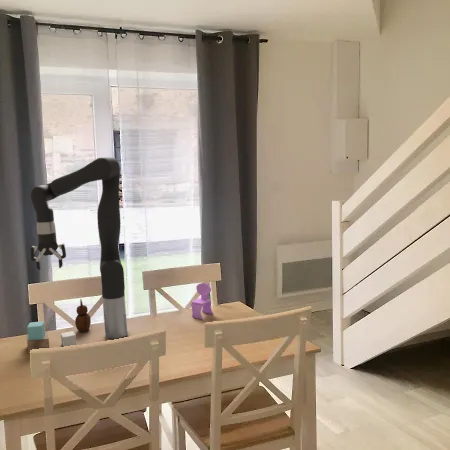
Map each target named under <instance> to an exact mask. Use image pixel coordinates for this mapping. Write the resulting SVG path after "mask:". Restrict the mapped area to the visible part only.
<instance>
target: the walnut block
mask: <svg viewBox="0 0 450 450" xmlns="http://www.w3.org/2000/svg"><path fill="white" fill-rule="evenodd" d="M26 343H27V352H28V353H27V354H30V353H29V352H30V350H32V349H39V348H50V337H49V335H48V331H45V336H44V338H43V339H39V340H28V334H27V335H26Z"/></svg>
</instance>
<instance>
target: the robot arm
mask: <svg viewBox="0 0 450 450" xmlns="http://www.w3.org/2000/svg"><path fill="white" fill-rule="evenodd" d="M120 174H121V168H120V164H119V161H118V160H117V159H116V158H115V157H114V156H101V157H97V158H96V159H94V160H93V161H90V162H89V163H88V164H86V165H85V166H83V167H81V168H80V169H78V170H75V171H73V172H70V173H68V174H65V175H63V176H59V177H57V178H56V179H52V180H51V182H49V183H45V184H42V185H35V186H34V187H33V188H32V189H31V191H30V200H31V204H32V206H33V209H34V211H35V213H36V214H35V217H36V233H37V244H38V245H36V246H35V245H32V246H30V261H35V265H36V269H37V270H38V271H41V270H42V269H41V267H42V266H41V258H42V257H43V256H44V257H45V256H53V255H54V256H55V257H57V259H58V267H59V268H58V269H61V268H62V267H63V265H64V264H63V259H66V257H67V251H66V244H65V243H61V244H58V242H57V241H58V240H57V231H56V230H57V228H56V224H55V216H54V215H55V214H54V209H53V208H52V207H49V206H48V202H51V201H52V200H54V199H57V198H59V197H60V196H62V195H65V194H68V193H70V192H71V193H72V192H73V191H75V190H77V189H78V188H80V187H81V186H83V185H85V184H88V183H92V182H96V181H101V185H102V190H101V191H102V192H101V195H100V199H99V203H98V207H97V216H96V217H97V218H96V219H97V229H98V237H99V242H100V263H99V272H100V279H101V281H100V282H101V296H102V310H103V321H104V333H105V335H104V336H105V338H108V339H112V340H114V339H120V338H124V337H128V336H129V335H128V334H129V333H128V324H127V323H128V322H127V321H128V319H127V309H126V295H125V294H126V293H125V290H126V289H125V287H126V286H125V285H126V284H125V271H124V270H125V269H124V266H123V264H122V261H121V256H120V248H119V243H120V236H121V209H120V176H121V175H120ZM58 248H59V249H60V250H61V253H62V255H61V254H60V253H59V251H58ZM37 250H38V251H39V252H40V253H38V256H37V257H35V254H36V253H35V252H36V251H37Z"/></svg>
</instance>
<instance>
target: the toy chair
mask: <svg viewBox="0 0 450 450" xmlns="http://www.w3.org/2000/svg"><path fill="white" fill-rule="evenodd" d="M196 291H197V294H198V295H200V297H198V298H196V299H195V300H192V301H191V304H190V306H191V313H192V316H191V318H195V319H200V320H203V319H204V318H203V316H202V313H205V314H210V315H214V312H213V310H212V307H211V305H212V300H211V299H208V295H209V294H211V292H212V289H211V286H210V285H209V284H208V283H206V282H201V283H198V284H197V285H196Z"/></svg>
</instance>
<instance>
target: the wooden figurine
mask: <svg viewBox="0 0 450 450" xmlns="http://www.w3.org/2000/svg"><path fill="white" fill-rule="evenodd" d="M79 299H80V301H79V302H80V304H79V305H78V306H77V307H76V317H75V321H74V324H75V327H76V329H77V331H78V332H80V333H85V332H87V331H89V329H90V327H91V323H92V322H91V316H90V314H89V313H88V310H89V309H88V306H87V305H85V304H84V303H83V300H82V298H79Z"/></svg>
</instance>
